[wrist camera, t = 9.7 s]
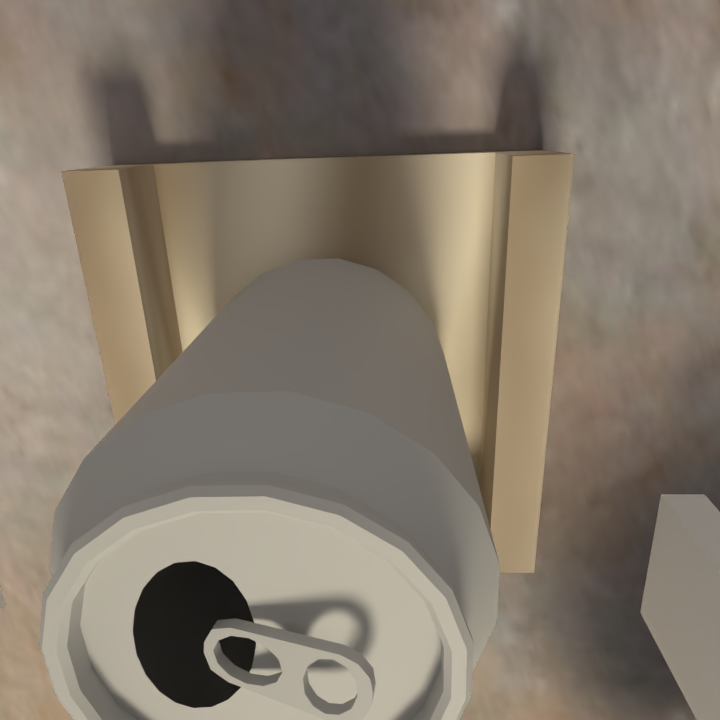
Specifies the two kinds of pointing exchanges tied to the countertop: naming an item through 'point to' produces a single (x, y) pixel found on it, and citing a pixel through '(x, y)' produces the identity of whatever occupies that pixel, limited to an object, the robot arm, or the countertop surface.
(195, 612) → the can
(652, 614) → the robot arm
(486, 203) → the can rest
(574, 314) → the countertop surface
